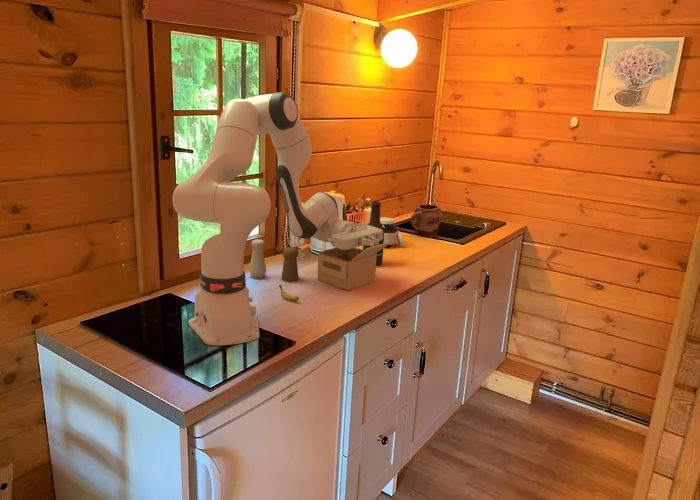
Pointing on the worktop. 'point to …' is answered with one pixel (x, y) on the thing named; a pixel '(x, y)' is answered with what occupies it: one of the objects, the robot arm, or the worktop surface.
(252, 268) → the salt shaker
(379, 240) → the robot arm
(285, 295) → the banana
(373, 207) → the beer bottle
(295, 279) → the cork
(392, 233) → the spread jar
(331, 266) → the carton
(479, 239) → the worktop surface
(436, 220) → the decorative planter
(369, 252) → the flap
